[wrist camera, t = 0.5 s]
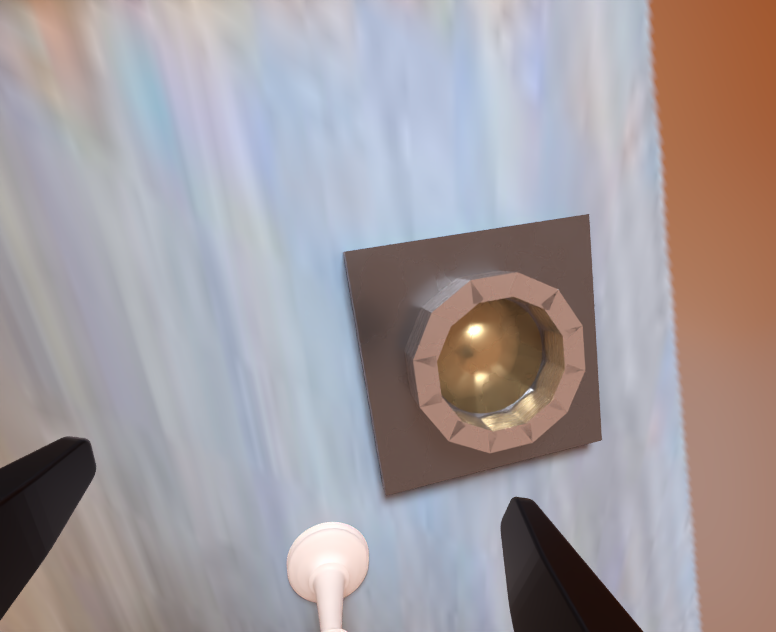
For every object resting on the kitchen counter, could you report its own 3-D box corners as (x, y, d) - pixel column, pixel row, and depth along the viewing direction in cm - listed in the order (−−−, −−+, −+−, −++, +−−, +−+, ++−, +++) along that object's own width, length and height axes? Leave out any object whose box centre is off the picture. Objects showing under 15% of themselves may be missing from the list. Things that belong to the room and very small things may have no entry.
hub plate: (588, 431, 25) (626, 456, 22) (382, 483, 23) (392, 518, 20) (575, 216, 23) (615, 209, 20) (343, 252, 21) (347, 251, 18)
